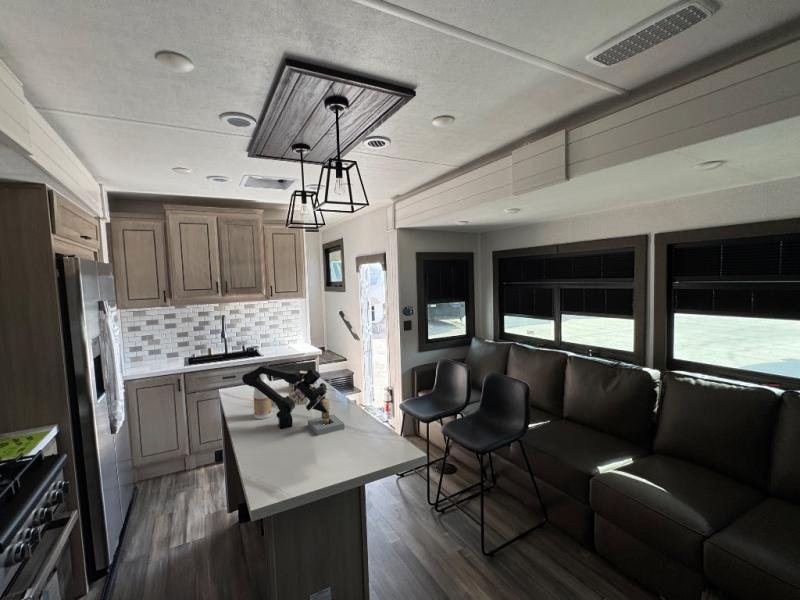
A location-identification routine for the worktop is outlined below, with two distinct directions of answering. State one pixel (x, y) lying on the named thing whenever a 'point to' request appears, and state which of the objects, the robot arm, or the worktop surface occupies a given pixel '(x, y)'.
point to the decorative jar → (297, 394)
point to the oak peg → (326, 405)
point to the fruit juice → (262, 401)
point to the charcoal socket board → (322, 429)
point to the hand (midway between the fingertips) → (327, 410)
